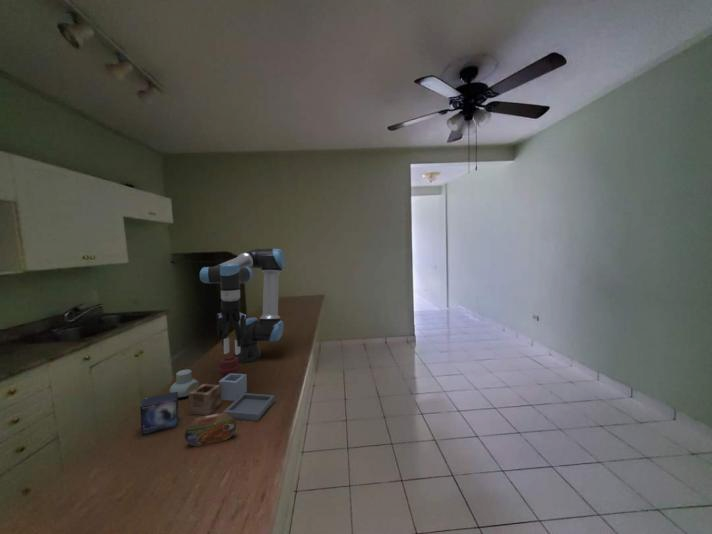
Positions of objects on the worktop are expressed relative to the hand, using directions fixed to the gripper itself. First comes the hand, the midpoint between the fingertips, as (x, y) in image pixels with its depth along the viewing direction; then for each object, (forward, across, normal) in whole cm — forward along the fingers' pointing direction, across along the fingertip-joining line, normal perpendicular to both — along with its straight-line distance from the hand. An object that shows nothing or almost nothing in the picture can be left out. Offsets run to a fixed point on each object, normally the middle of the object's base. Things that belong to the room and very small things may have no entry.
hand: (232, 353), depth 121 cm
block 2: (+19, 0, 0) cm, 19 cm away
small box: (+19, -13, -24) cm, 33 cm away
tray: (+19, +13, -9) cm, 24 cm away
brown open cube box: (+19, -5, -11) cm, 22 cm away
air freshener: (+19, -22, -2) cm, 29 cm away
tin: (+19, +10, -28) cm, 35 cm away
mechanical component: (+19, -9, +11) cm, 24 cm away
